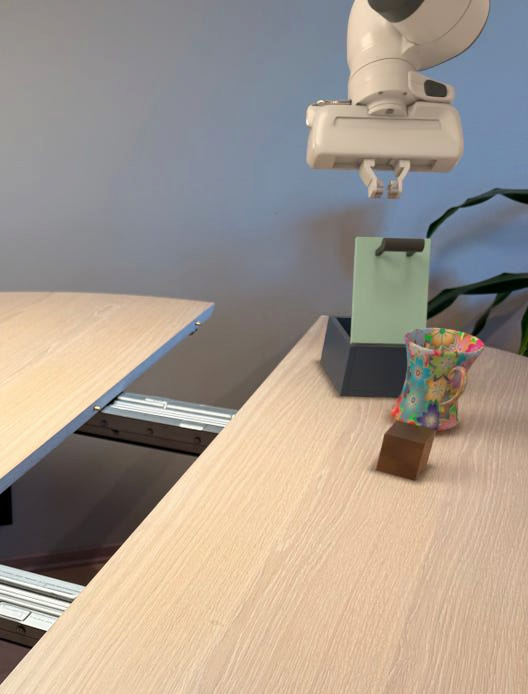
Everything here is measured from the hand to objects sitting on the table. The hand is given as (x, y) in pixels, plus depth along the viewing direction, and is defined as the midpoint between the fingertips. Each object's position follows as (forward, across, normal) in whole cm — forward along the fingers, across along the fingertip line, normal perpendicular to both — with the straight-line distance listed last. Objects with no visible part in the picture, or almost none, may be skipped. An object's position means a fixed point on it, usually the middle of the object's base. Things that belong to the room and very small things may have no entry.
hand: (385, 196), depth 130 cm
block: (+41, -3, -9) cm, 42 cm away
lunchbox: (+21, 0, +11) cm, 24 cm away
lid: (+14, 0, 0) cm, 14 cm away
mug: (+32, +4, 0) cm, 33 cm away
